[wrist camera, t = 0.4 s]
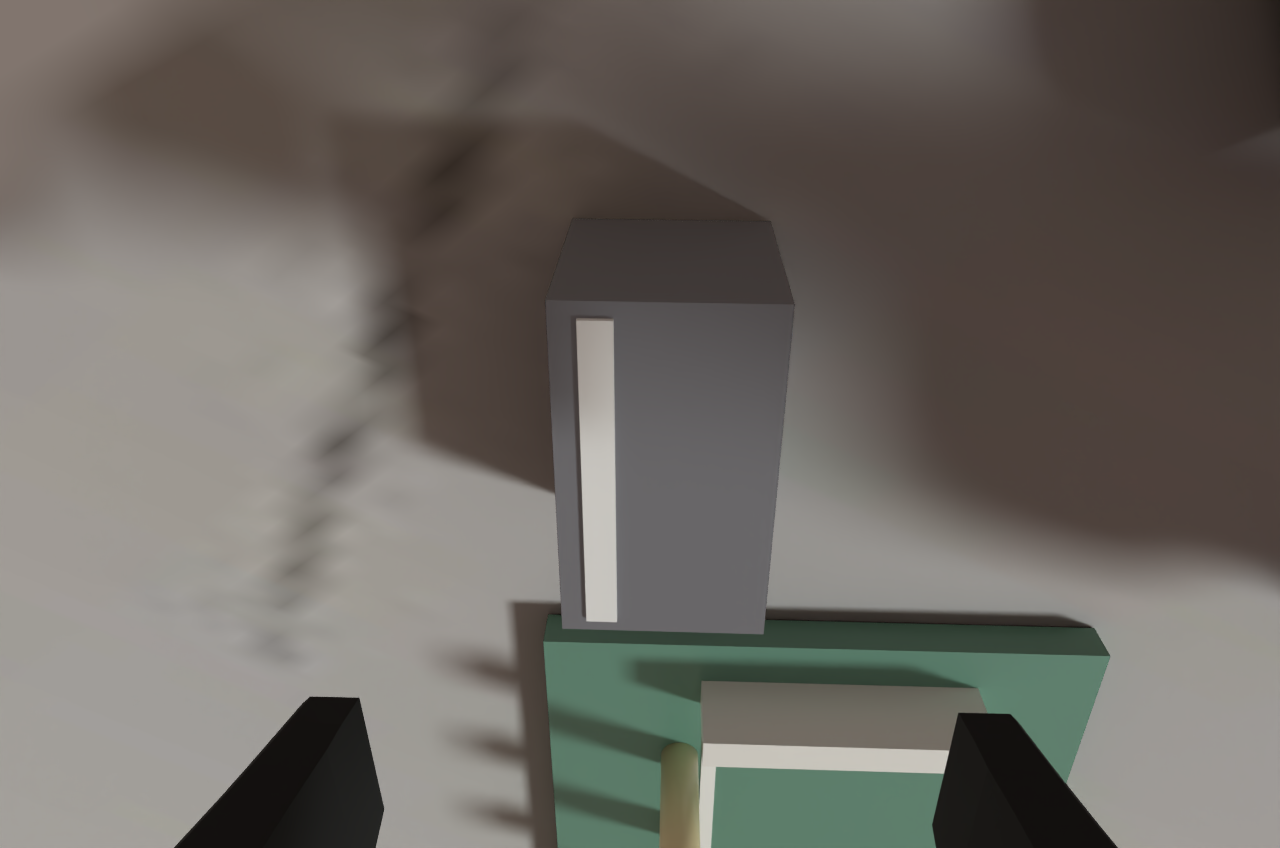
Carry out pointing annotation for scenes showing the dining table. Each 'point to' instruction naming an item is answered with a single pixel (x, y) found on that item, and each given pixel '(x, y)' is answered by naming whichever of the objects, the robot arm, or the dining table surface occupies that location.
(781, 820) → the header board
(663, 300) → the block
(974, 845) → the robot arm
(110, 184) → the dining table surface
